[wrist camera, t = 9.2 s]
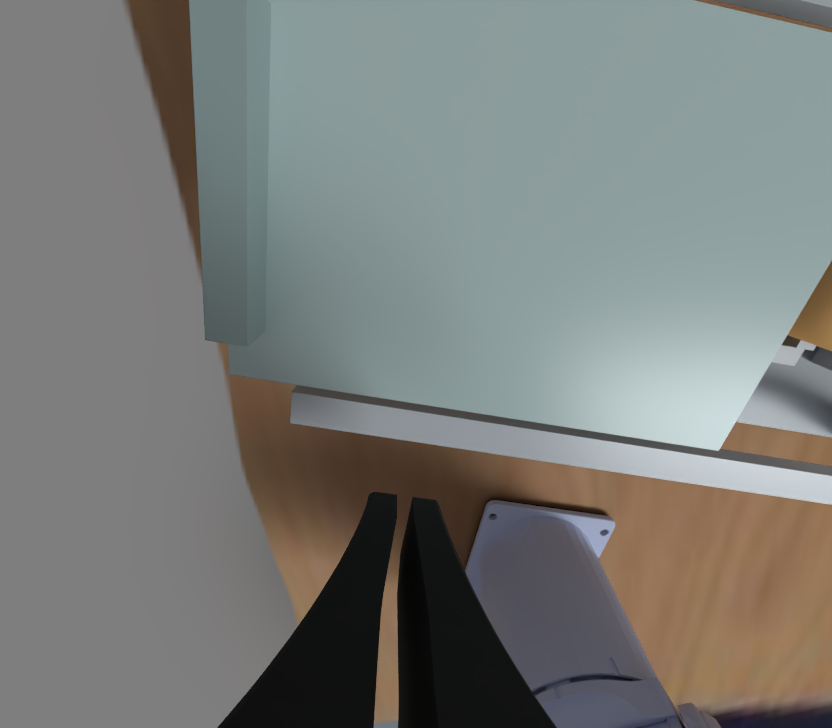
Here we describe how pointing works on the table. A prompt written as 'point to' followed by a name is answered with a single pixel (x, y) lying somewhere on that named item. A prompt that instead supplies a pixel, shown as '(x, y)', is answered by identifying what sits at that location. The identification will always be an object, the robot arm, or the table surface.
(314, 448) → the table surface
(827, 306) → the brown egg
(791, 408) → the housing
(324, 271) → the lid
